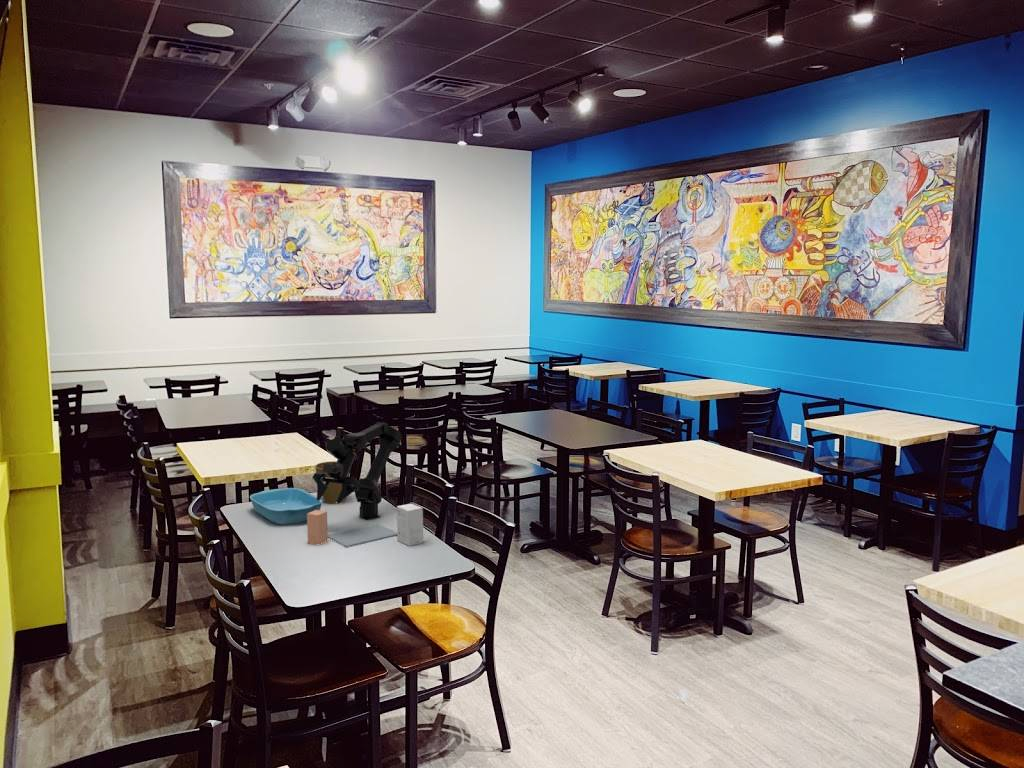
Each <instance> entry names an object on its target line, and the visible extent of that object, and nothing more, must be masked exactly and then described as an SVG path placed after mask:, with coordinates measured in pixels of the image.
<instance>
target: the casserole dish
mask: <svg viewBox="0 0 1024 768" xmlns="http://www.w3.org/2000/svg"><path fill="white" fill-rule="evenodd" d="M249 499H250V501H251V504H252V506H253V508H254V511H255V512H257V513H258V514H259V515H261V516H262V517H264V518H266V519H267V520H268V521H271V522H272V523H274V522H275V523H274V524H277V525H289V524H290V523H291V524H295V523H296V524H297V523H301V522H305V521H306V522H307V513H310V512H312V511H314V510H319V511H321V507H322V504H323V500H322V498H321V499H320V500H319V501H318V500H317V495H313V494H312V493H310V492H308V491H306V490H304V489H301V488H297V487H296V488H295V487H287V488H274V489H267V490H263V491H260V492H257V493H256V492H255V493H253V494H250V496H249ZM283 503H285V504H283Z"/></svg>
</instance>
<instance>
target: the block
mask: <svg viewBox="0 0 1024 768" xmlns="http://www.w3.org/2000/svg"><path fill="white" fill-rule="evenodd" d="M306 523H307V524H306V525H307V526H306V529H307V544H309V543H313V544H312V545H316V544H320V545H322V544H324V543H326V542H325V541H327V540H329V538H328V511H327V510H326V511H324V510H320V511H319V510H314V511H312V512H310V513H307V521H306ZM323 542H324V543H323ZM327 542H328V541H327ZM321 543H322V544H321Z"/></svg>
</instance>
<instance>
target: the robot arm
mask: <svg viewBox="0 0 1024 768" xmlns="http://www.w3.org/2000/svg"><path fill="white" fill-rule="evenodd" d="M377 437H378V438H379V439H378V442H379V449H378V451H377V452H376V455H375V457H374V459H373V462H372V464H371V466H370V468H369V470H368V472H367V474H366V477H364V478H359V479H357V478H355V477H353V476H349V477H348V476H347V475H348V473H350V474H351V473H352V470H351V468H352V465H353V463H354V461H355V460H357V461H358V460H359V457H358V454H357V452H358V451H359V452H360V451H361V450H362V449H364V448H365V447H366V446H367V443H369V442H370V441H371V440H373V439H375V438H377ZM402 440H403V435H402V433H401V432H400V431H399V430H397V429H395V428H394V427H392V426H390V424H388V423H387V422H376V423H374V424H373V425H371V426H369V427H368V428H365V429H363V430H361V431H360V432H353V433H348V434H345V436H343V438H341V436H338V435H335V436H334V438H332V439H331V440H329V441H328V442H327V443H326V445H325V446H326V447H325V448H326V449H325V450H326V451H328V453H330V454H331V455H332V456H333V457H334V458H335V459H337V460H336V461H337V462H336V463H333V465H330V464H324V465H323V470H322V472H326V473H327V474H328V475H329V476H330V477H327V476H326V475H325V474H324V473H318V472H316V471H315V472H314V473H313V475H312V480H314V483H315V484H316V486H317V489H316V491H317V492H316V497H317V500H318V501H319V500H320V499H321V500H322V498H323V494H324V493H325V491H326V489H327V488H328V487H327V485H328V484H329V482H330V483H337V484H342V490H341V492H340V495H339V497H338V500H337V503H336V504H340V503H342V502H343V501H344V500H345V499H346V498H347V497H348V496H350V495H351V494H353V493H354V496H355V499H356V502H357V503H360V505H359V515H358V517H359V518H361V519H363V520H366V521H367V520H373V519H377V518H381V515H379V504H381V502H382V498H383V496H382V495H381V494H380V492H379V489H380V488H379V484H378V483H379V480H380V478H381V475H382V473H383V472H384V469H385V467H386V464H387V462H388V459H389V457H390V455H391V453H392V452H393V451H394V450H396V449H397V448H398V447H399V445H400V443H401V442H402ZM354 451H357V452H354ZM341 501H342V502H341Z"/></svg>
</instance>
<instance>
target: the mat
mask: <svg viewBox="0 0 1024 768" xmlns="http://www.w3.org/2000/svg"><path fill="white" fill-rule="evenodd" d="M396 535H397V531H395V530H393V529H390V528H388V527H387V526H383V524H382V525H381V524H379V523H374V524H369V525H364V526H359V527H354V528H351V529H346V530H342V531H336V532H332V533H329V534H328V539H329V538H330V540H331V539H332V540H331V541H333V540H334V541H333V542H335V541H336V542H335V543H337V542H338V543H337V544H339V543H340V544H339V545H341V544H342V545H344V546H346V547H347V548H349V547H348V546H351V547H354V546H353V545H355V546H359V545H362V544H368V543H371V541H372V542H375V541H380V540H383V539H384V538H385V539H388V538H392V537H397V536H396ZM367 542H368V543H367ZM358 544H359V545H358ZM342 545H341V546H342ZM344 546H343V547H344ZM346 547H345V548H346Z"/></svg>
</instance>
